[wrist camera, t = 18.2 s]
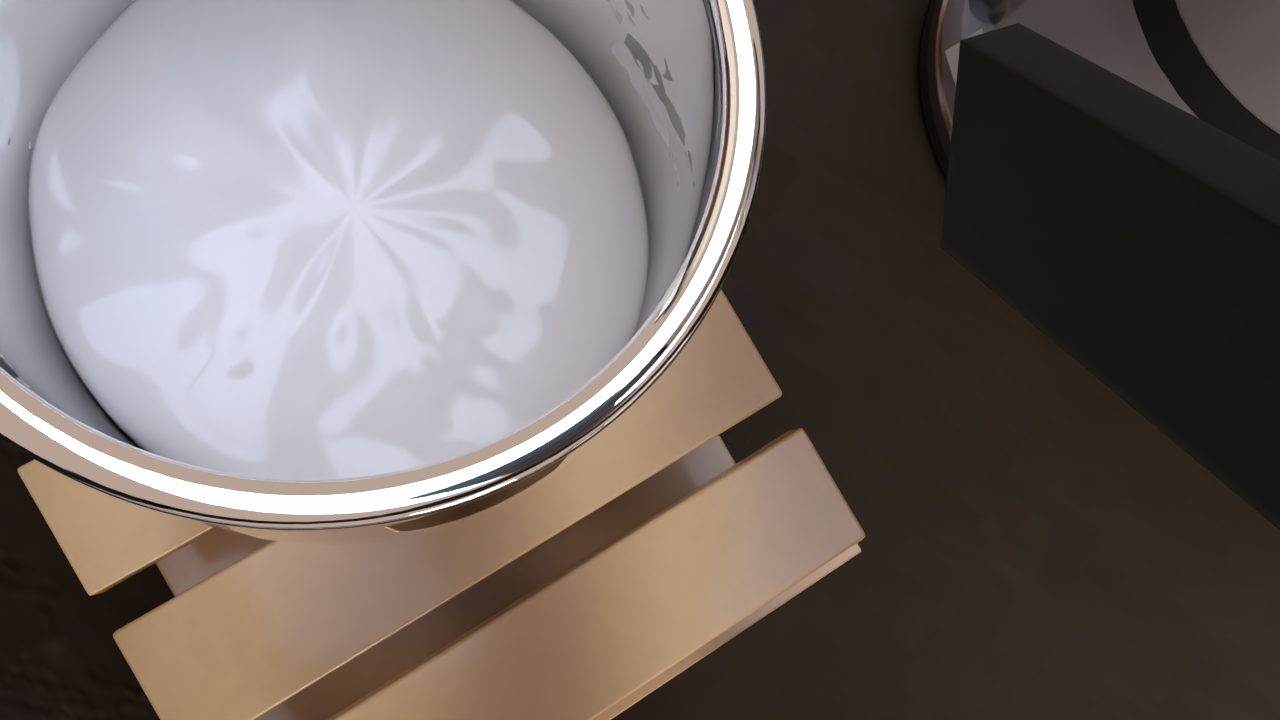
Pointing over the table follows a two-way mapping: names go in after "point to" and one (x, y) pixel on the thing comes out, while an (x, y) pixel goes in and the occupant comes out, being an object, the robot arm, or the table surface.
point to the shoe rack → (488, 574)
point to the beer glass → (358, 243)
